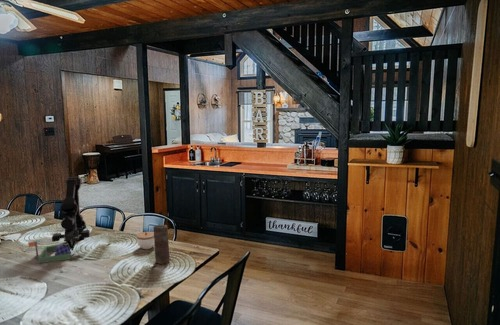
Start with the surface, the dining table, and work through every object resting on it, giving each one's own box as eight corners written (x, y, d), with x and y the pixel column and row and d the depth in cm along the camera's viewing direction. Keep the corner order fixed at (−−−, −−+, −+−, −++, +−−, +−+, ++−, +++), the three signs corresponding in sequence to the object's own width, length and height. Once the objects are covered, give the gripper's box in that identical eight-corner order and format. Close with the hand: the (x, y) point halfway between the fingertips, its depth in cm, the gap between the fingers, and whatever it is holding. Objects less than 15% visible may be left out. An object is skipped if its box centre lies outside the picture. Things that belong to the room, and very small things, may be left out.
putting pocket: (74, 246, 205) (73, 232, 204) (71, 258, 188) (69, 242, 187) (33, 252, 197) (31, 237, 196) (26, 264, 181) (24, 248, 179)
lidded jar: (158, 244, 208) (158, 229, 207) (152, 251, 198) (151, 235, 197) (141, 243, 209) (140, 228, 208) (134, 250, 199) (133, 234, 198)
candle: (152, 262, 182) (150, 226, 179) (161, 257, 189) (160, 222, 186) (163, 265, 179) (161, 228, 176) (172, 260, 185) (171, 224, 182)
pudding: (65, 249, 202) (65, 240, 201) (79, 253, 196) (78, 244, 196) (45, 257, 191) (45, 248, 191) (59, 261, 186) (58, 251, 185)
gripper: (49, 230, 183) (51, 257, 186) (87, 225, 190) (89, 252, 192) (52, 223, 194) (54, 250, 196) (88, 220, 200) (90, 245, 203)
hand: (72, 249), depth 196 cm, fingers closed
